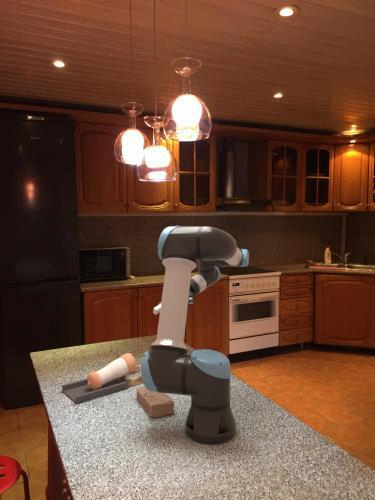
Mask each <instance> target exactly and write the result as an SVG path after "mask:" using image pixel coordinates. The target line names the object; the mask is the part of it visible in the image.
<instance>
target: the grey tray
mask: <svg viewBox="0 0 375 500" xmlns="http://www.w3.org/2000/svg"><path fill="white" fill-rule="evenodd" d="M128 388H129V387H128V382H122V383H121V382H119V381H118V380H116V379H114V380H112V381H110V382H108V383H106V384H104V385H102V387H101V388H100V389H98V390H93V389H92V388H91V387H90V386H89V385H88V379H87V378H83V379H80V380H77V381H73V382H69V383H65V384H62V385H61V389H62V390H61V392H62V393H63V394H65V395H66V396H67V397H68V398H69V399H70V400H71V401H73V402H74V403H75V404H76V405H78V404H79V405H80V404H82V403H85V402H90V401H92V400H96V399H98V398H99V399H100V398H103V397H105V396H108V395H111V394H115V393H118V392H121V391H124V390H128Z"/></svg>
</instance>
